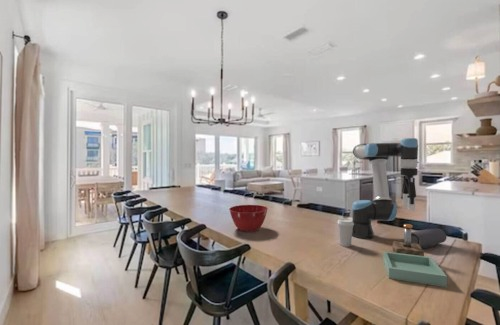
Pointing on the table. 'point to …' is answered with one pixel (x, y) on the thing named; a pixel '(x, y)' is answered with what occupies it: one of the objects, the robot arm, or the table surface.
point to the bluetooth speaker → (428, 237)
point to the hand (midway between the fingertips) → (408, 208)
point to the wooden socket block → (407, 249)
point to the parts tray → (414, 269)
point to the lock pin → (407, 235)
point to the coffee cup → (345, 231)
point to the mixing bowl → (248, 216)
